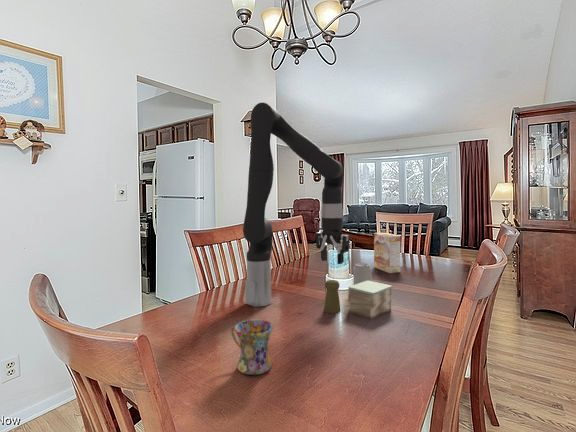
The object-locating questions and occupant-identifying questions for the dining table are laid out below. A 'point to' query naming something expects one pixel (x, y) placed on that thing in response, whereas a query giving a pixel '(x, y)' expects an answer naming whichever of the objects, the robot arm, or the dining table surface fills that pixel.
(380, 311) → the box
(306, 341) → the dining table surface
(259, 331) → the mug
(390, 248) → the coffeecake box
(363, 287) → the lid
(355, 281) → the can
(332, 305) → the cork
